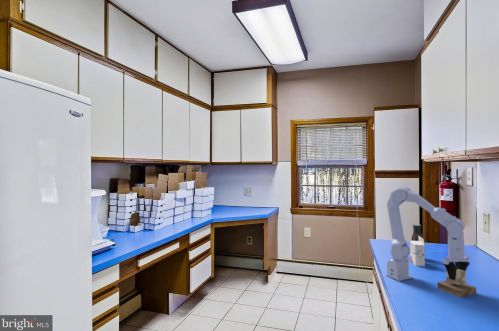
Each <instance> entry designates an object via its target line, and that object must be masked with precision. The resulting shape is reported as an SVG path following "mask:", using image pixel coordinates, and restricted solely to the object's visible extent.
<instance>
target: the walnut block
mask: <svg viewBox="0 0 499 331" xmlns="http://www.w3.org/2000/svg"><path fill="white" fill-rule="evenodd" d="M437 289H438V290H441V291H442V292H443V291H444V292H445V293H449V294H451V295H453V296H455V297H458V298H460V299H461V298H464V297H465V298H466V297H469V296H472V295H476V294H477V287H475V286H473V285H470V284H468V283H464V284H460V285H457V284H454V283H451V282H449V281H447V279H445V280H443V281H437Z"/></svg>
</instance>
